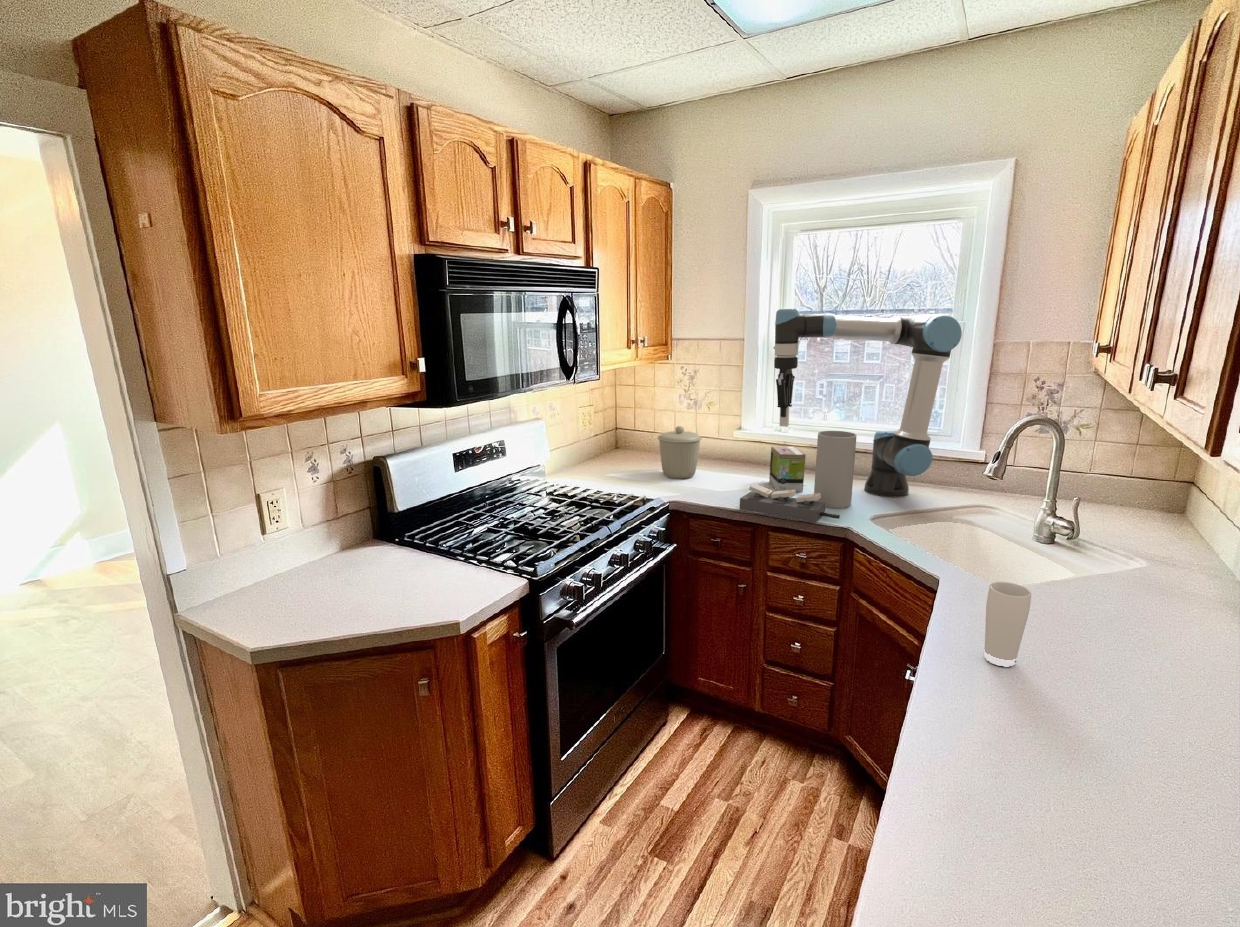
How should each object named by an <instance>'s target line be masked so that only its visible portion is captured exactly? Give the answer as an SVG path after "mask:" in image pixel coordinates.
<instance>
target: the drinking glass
mask: <svg viewBox="0 0 1240 927" xmlns="http://www.w3.org/2000/svg"><path fill="white" fill-rule="evenodd" d="M1031 601H1032V592H1031V590H1029V589H1028V588H1026V587H1024V586H1023V585H1019V584H1017V583H1014V582H1010V581H1009V582H1007V581H995V582H994V581H993V582H992V583H990V584H989V587H988V592H987V598H986V606H985V627H984V628H985V633H984V649H985V652H986V653H987V654H990V655H991V656H993V657H996V658H999V659H1004V660H1013V659H1016V658H1017V659H1018V654H1019V651H1020V650H1019V649H1020V647H1021V643H1022V640H1023V635H1024V632H1025V628H1026V624H1027V622H1028V617H1029V614H1030V608H1031V603H1032V602H1031Z"/></svg>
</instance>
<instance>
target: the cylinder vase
mask: <svg viewBox="0 0 1240 927" xmlns="http://www.w3.org/2000/svg"><path fill="white" fill-rule="evenodd" d="M857 435H858V434H857V433H855V432H851V431H846V430H845V431H844V430H822V431H819V432H817V444H816V459H815V470H814V471H815V473H814V488H813V489H814V490H813V494H815V493H821V498H820V499H818V500H816V501H817V502H824V503H825V509H826V508H827V509H837V510H838V509H845V508H849V507H850V506H851V504H852V497H853V487H854V486H853V485H854V483H853V482H854V473H855V472H854V471H855V460H856V448H857V447H856V446H857Z"/></svg>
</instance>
